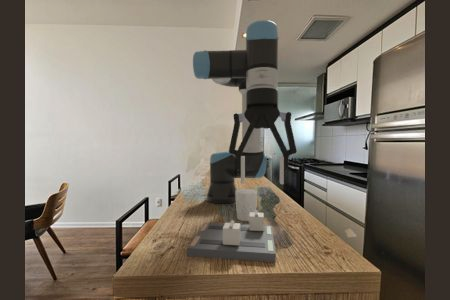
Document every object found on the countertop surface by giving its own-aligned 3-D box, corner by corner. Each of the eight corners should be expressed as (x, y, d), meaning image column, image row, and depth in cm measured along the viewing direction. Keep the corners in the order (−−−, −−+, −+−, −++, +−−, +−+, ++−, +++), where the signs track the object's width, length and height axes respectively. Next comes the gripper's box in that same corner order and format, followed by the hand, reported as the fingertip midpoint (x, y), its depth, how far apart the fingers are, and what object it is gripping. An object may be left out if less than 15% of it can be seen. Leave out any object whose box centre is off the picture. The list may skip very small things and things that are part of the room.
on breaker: (250, 225, 69) (250, 210, 69) (263, 225, 69) (263, 210, 69) (249, 230, 65) (249, 214, 65) (263, 231, 65) (263, 214, 64)
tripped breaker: (225, 237, 60) (225, 220, 60) (240, 238, 60) (240, 220, 60) (222, 244, 56) (222, 225, 56) (239, 245, 56) (239, 226, 56)
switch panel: (204, 228, 74) (204, 222, 73) (271, 232, 70) (271, 225, 70) (186, 256, 56) (186, 247, 56) (275, 262, 53) (275, 253, 53)
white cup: (256, 222, 79) (256, 193, 79) (233, 221, 80) (233, 192, 80) (257, 215, 87) (257, 189, 86) (237, 214, 88) (236, 188, 88)
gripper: (215, 88, 54) (216, 184, 54) (311, 84, 51) (311, 186, 51) (220, 94, 61) (221, 179, 62) (304, 91, 58) (304, 181, 59)
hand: (261, 182), depth 56 cm, fingers open, 9 cm apart
